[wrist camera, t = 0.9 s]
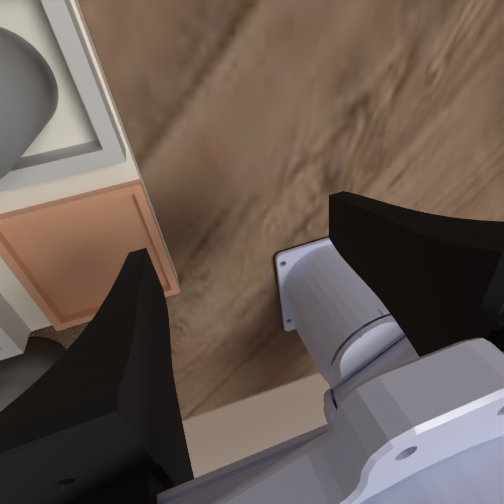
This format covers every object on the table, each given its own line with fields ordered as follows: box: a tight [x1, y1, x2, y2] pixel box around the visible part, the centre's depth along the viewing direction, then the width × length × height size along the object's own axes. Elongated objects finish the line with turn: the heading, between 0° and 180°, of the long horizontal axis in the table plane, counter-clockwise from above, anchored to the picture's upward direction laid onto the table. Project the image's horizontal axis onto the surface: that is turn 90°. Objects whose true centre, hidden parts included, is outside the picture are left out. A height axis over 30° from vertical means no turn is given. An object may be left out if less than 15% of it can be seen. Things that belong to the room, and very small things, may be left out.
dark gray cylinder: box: [0, 337, 66, 412], centre depth 23 cm, size 4×4×7 cm
